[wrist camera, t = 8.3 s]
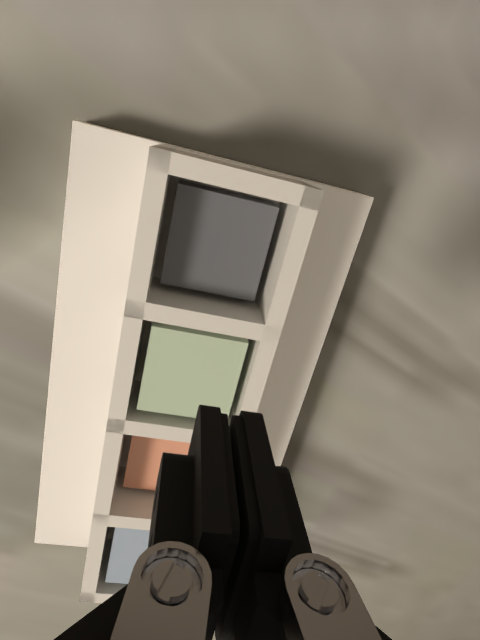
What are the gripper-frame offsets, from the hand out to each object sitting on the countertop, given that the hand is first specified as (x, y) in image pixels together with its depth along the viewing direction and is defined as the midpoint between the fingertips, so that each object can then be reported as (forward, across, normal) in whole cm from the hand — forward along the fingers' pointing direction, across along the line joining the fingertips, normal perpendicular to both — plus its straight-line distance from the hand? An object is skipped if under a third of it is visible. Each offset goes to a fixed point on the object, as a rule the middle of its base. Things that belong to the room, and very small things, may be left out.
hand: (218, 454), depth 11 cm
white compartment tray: (+14, 0, +5) cm, 15 cm away
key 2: (+10, 0, +2) cm, 10 cm away
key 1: (+11, 0, -4) cm, 12 cm away
